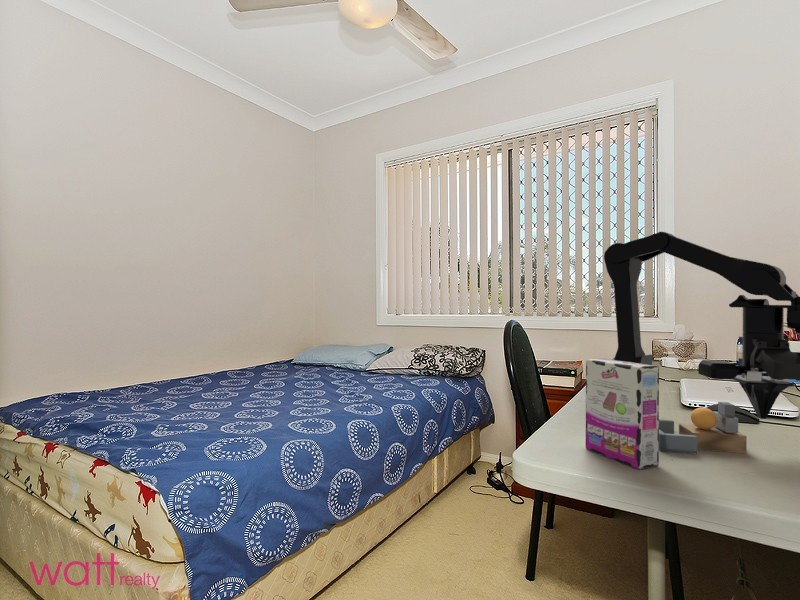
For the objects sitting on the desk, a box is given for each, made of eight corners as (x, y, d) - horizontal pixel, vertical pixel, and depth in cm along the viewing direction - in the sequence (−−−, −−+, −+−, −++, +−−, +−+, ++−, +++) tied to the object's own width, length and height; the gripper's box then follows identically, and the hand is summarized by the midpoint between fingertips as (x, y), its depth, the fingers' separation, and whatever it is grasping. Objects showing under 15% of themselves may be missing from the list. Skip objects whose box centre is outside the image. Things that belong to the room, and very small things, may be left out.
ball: (696, 431, 79) (696, 409, 79) (687, 425, 83) (687, 404, 83) (721, 433, 78) (721, 411, 78) (710, 426, 82) (710, 405, 82)
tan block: (692, 449, 78) (692, 432, 78) (678, 439, 84) (679, 423, 84) (746, 453, 76) (746, 436, 76) (728, 442, 82) (728, 426, 82)
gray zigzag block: (725, 432, 78) (725, 406, 78) (712, 424, 82) (712, 400, 82) (738, 433, 77) (738, 406, 77) (724, 425, 82) (724, 400, 82)
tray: (660, 451, 77) (660, 434, 77) (639, 432, 88) (639, 418, 88) (697, 454, 76) (697, 436, 76) (672, 435, 87) (672, 420, 87)
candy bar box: (660, 466, 70) (661, 365, 70) (639, 471, 68) (639, 367, 68) (603, 444, 81) (604, 357, 81) (583, 448, 79) (584, 358, 79)
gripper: (727, 335, 73) (727, 427, 73) (860, 337, 69) (860, 435, 69) (697, 330, 84) (696, 411, 84) (810, 332, 80) (810, 417, 80)
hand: (762, 418), depth 79 cm, fingers closed
